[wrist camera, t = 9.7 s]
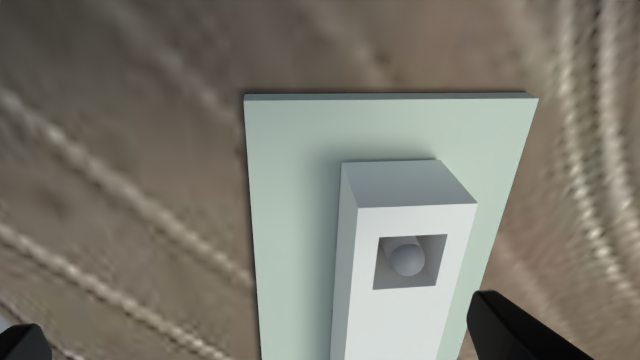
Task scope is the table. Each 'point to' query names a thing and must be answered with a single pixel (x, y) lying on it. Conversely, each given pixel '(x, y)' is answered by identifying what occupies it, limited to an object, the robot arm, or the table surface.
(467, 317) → the robot arm
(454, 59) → the table surface
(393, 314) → the power strip bar
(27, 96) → the table surface
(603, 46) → the table surface
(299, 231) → the post board
